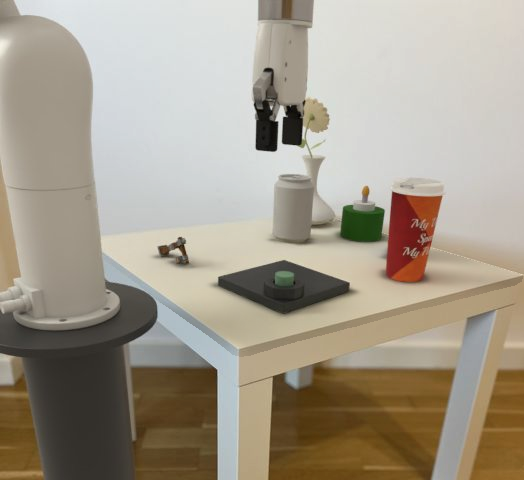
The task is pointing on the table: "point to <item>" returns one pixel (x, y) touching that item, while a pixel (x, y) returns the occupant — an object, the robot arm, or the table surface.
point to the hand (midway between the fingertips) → (279, 147)
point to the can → (293, 208)
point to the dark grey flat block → (283, 297)
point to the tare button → (284, 278)
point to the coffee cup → (412, 226)
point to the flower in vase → (316, 157)
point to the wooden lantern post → (179, 244)
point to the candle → (362, 220)
